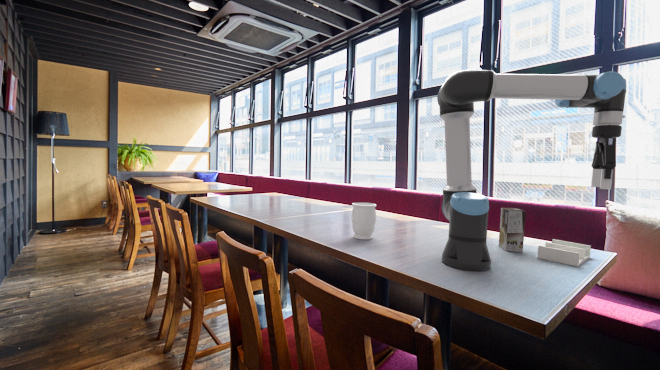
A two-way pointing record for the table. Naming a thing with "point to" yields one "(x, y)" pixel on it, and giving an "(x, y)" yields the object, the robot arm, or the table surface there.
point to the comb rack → (564, 252)
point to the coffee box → (512, 229)
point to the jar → (363, 220)
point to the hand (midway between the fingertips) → (600, 188)
